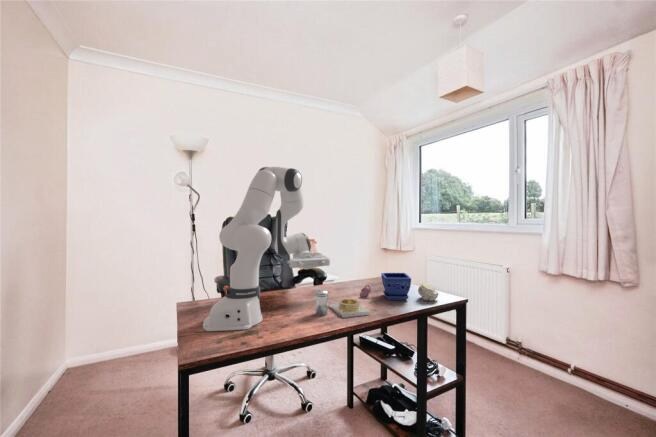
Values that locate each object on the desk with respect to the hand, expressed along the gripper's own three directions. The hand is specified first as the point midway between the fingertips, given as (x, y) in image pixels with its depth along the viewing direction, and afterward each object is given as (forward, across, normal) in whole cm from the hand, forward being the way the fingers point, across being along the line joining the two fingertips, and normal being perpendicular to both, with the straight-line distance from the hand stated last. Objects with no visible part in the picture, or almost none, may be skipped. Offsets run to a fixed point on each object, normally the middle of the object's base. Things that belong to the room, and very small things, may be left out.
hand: (313, 265), depth 134 cm
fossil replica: (+10, +58, +20) cm, 62 cm away
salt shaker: (+12, 0, +19) cm, 23 cm away
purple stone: (-8, +31, +20) cm, 38 cm away
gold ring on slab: (+12, +13, +19) cm, 26 cm away
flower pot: (+2, +44, +20) cm, 48 cm away
